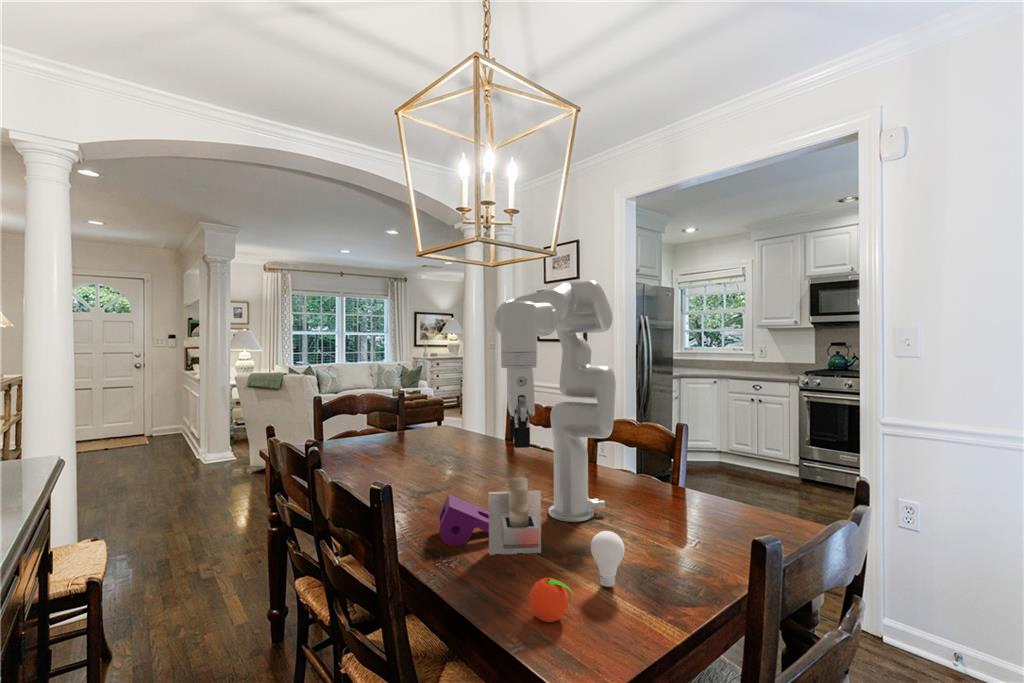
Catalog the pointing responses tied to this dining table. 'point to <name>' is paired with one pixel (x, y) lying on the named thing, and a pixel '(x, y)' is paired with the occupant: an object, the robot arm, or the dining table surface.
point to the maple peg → (518, 502)
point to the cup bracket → (513, 538)
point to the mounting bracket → (461, 520)
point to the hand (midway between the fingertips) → (519, 441)
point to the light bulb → (607, 555)
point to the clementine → (549, 599)
